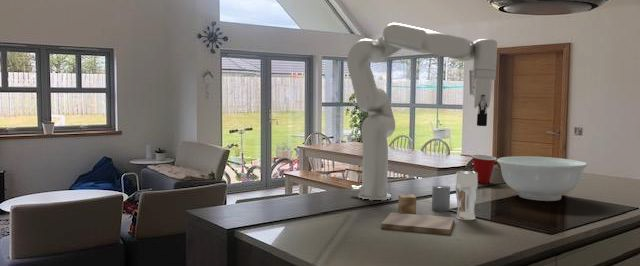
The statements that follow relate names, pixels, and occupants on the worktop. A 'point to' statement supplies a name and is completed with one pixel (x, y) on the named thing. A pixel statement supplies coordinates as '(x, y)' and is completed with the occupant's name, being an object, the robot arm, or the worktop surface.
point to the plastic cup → (483, 167)
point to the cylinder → (440, 198)
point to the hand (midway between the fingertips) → (481, 125)
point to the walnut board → (418, 223)
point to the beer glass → (466, 194)
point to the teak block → (407, 204)
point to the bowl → (541, 176)
